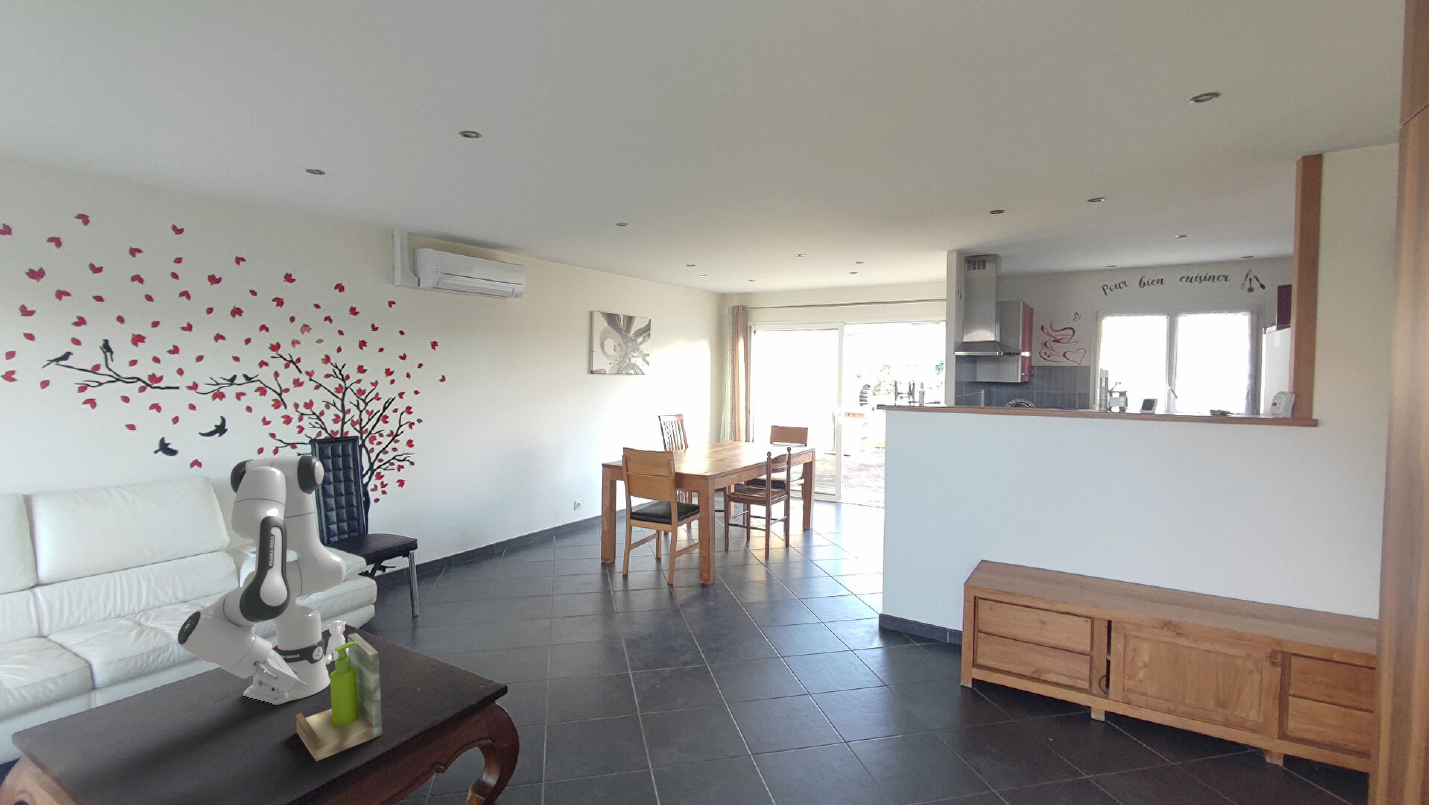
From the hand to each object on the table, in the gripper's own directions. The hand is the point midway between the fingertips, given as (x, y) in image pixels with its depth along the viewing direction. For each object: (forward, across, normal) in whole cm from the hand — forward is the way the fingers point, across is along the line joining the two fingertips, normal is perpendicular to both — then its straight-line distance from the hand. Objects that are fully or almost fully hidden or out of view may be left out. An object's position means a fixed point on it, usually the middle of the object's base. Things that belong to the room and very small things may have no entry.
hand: (300, 681), depth 157 cm
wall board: (+18, 0, +6) cm, 19 cm away
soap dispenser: (+17, 0, +3) cm, 17 cm away
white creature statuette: (+27, +50, -3) cm, 57 cm away
